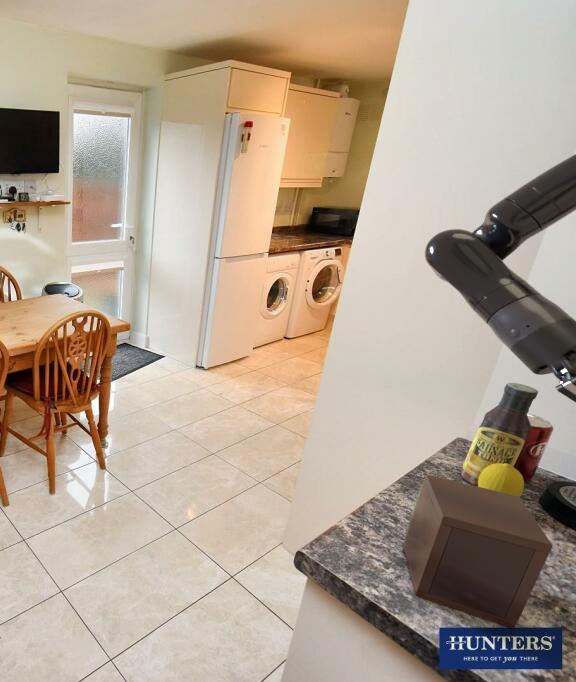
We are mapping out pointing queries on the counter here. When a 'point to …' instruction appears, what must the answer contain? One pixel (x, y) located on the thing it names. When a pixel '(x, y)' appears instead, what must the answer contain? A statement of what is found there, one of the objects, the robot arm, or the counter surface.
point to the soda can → (533, 447)
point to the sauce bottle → (500, 432)
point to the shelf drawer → (414, 508)
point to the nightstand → (474, 550)
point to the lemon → (502, 479)
